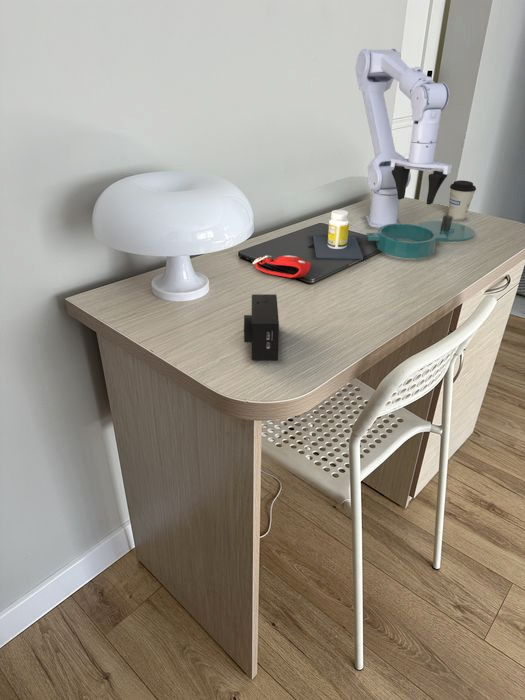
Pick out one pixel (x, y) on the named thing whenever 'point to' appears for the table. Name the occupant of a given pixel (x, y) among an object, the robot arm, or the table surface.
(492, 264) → the table surface
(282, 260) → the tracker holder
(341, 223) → the supplement bottle
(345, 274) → the table surface
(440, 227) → the pot lid
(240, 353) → the table surface
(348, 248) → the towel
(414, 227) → the pot
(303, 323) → the table surface
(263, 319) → the digital camera
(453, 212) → the coffee cup
